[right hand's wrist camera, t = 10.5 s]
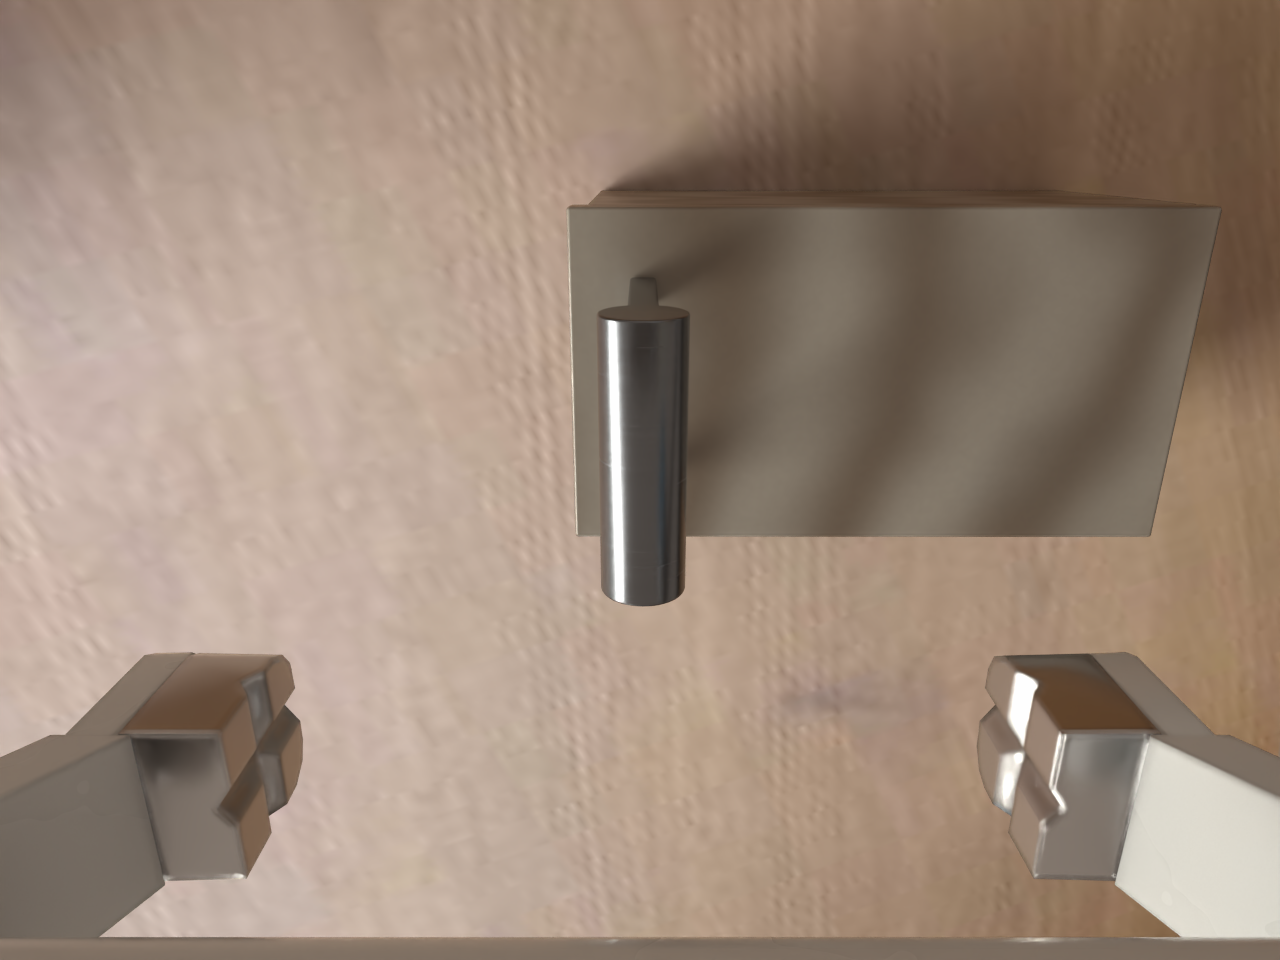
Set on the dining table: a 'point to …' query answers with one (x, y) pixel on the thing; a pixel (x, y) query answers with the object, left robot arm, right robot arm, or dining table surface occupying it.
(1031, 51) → the dining table surface
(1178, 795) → the right robot arm
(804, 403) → the lid
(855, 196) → the chest
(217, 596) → the dining table surface
